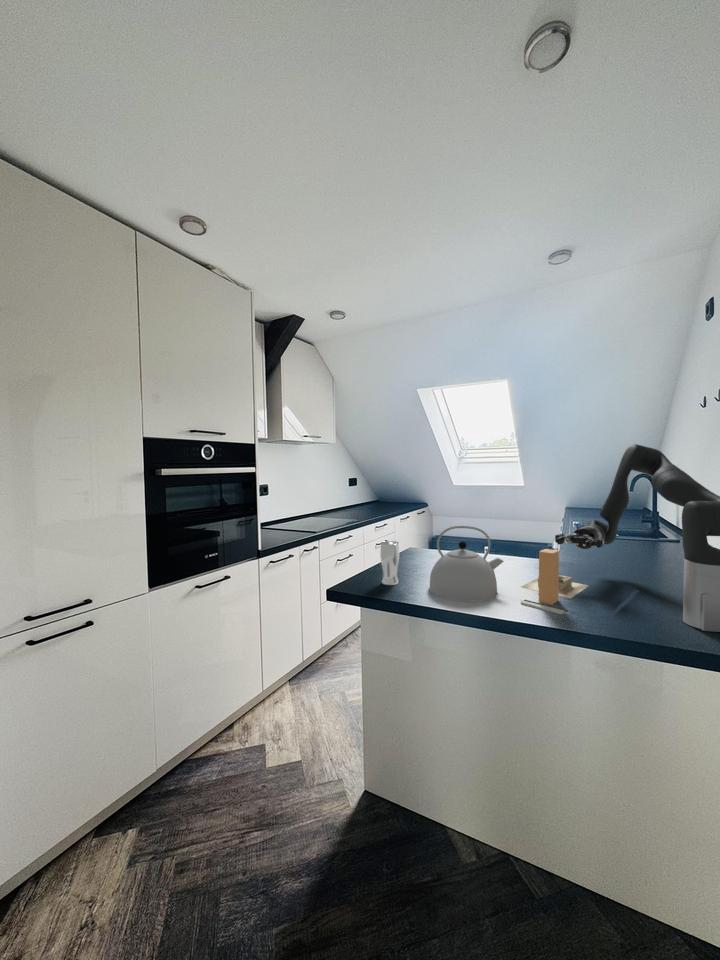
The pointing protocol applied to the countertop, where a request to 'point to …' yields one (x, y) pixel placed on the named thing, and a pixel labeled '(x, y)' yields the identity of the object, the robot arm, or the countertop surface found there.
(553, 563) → the tan rectangular block
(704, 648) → the countertop surface
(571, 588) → the wooden socket base
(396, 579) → the beer glass
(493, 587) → the kettle
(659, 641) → the countertop surface
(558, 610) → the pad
